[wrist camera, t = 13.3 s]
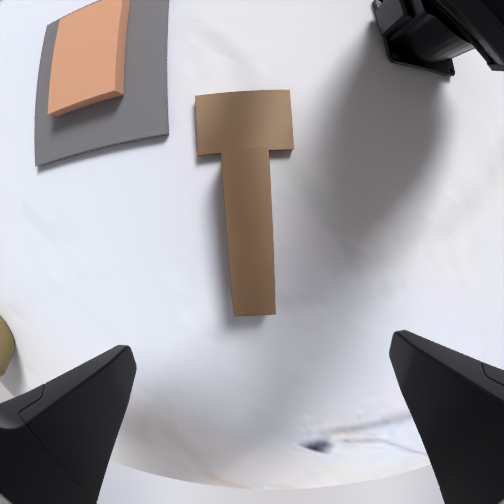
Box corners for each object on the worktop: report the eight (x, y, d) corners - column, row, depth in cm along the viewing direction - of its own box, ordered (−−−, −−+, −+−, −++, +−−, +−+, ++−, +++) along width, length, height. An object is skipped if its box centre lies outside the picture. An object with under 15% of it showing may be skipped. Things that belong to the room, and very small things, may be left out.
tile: (124, 95, 16) (131, 0, 13) (114, 90, 14) (123, -9, 12) (59, 116, 16) (69, 25, 13) (47, 114, 14) (59, 19, 12)
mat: (170, -18, 13) (168, -22, 13) (169, 134, 17) (166, 133, 17) (50, 27, 14) (47, 25, 13) (39, 166, 17) (35, 166, 17)
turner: (288, 92, 16) (294, 79, 14) (296, 293, 20) (302, 312, 17) (197, 98, 17) (187, 86, 14) (213, 297, 20) (207, 317, 18)
